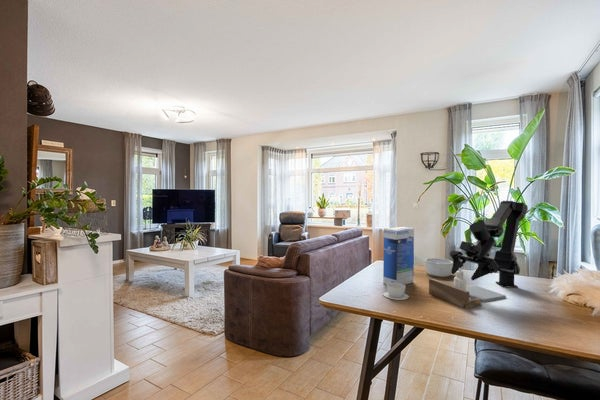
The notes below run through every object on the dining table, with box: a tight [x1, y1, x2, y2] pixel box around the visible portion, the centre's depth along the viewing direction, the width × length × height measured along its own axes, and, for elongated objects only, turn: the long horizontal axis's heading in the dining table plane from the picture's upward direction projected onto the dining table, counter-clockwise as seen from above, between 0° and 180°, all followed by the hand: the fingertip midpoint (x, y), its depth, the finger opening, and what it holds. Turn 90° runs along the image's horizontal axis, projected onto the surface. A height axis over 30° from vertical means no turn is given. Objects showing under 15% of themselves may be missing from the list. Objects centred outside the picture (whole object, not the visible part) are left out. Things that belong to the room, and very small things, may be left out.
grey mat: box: [466, 285, 507, 303], centre depth 123 cm, size 13×13×1 cm
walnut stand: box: [428, 278, 482, 309], centre depth 118 cm, size 8×18×6 cm, turn 20°
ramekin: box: [424, 257, 453, 278], centre depth 154 cm, size 13×13×7 cm
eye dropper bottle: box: [453, 267, 467, 290], centre depth 119 cm, size 4×6×12 cm
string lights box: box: [382, 226, 415, 286], centre depth 138 cm, size 13×8×26 cm, turn 123°
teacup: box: [383, 283, 410, 301], centre depth 121 cm, size 10×10×5 cm
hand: (461, 276), depth 119 cm, fingers open, 9 cm apart
